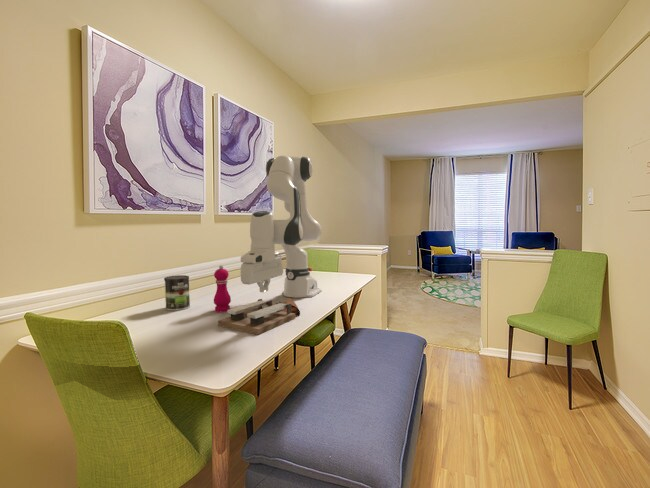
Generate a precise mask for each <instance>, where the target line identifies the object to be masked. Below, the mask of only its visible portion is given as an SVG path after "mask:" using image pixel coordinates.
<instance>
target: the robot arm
mask: <svg viewBox="0 0 650 488" xmlns="http://www.w3.org/2000/svg"><path fill="white" fill-rule="evenodd" d="M265 172H266V176H267V179H266V188H267V191H268V193H269V194H271V196H273V197H274V198H275V199H277V200H280V201H283V202H284V209H285V211H286V212H287V213H289V216H290V217H289V218H287V219H274V217H273V213H272V212H271V211H267V210H260V211H255V212H254V213H252V214H251V217H250V224H249V225H250V226H249V236H250V239H251V244H250V250H249V251H248V252H246V253H245V254H243V255H242V256H240V262H241V265H240V282H241V283H242V284H243V285H249V286H250V285H253V284H257V286H258V287H259V292H260V293H266V292H268V291H269V285H270V283H271V279H274V278H277V277H281V276H283V275H284V266H283V265H284V264H283V260H282V255H281V253H279V252H276V250H275V248H276V247H275V246H276V245H281V247H282V248H283V250H284V254H285V263H286V266H285V267H286V268H285V278H284V284H283V285H284V286H283V290H282V294H283V296H284V297H286V298H287V297H288V298H292V299H293V298H299V299H300V298H312V297H315V296H316V295H318V294H320V293H322V288H318V281H317V279H315V278H314V277H313V276H312V275H311V272H313V267H309V266H308V265H309V263H308V262H309V261H308V259H309V258H308V252H307V251H306V250H305V249H303V248H301V247H299V246H298V245H297V244H299V243H300V242H313V241H318V240H319V239H320V238H321V236H322V233H323V232H322V231H323V229H322V225H321V224H320V223H319V221H317V220H315V218H314V217H313V216H312V215H311V213H310V212H309V209H308V203H307V189H306V182H307V180H309V179H310V178H311V177H312V176H313V172H314V167H313V163H312V160H311V159H310V157H306V156H301V157H300V156H289V155H288V156H286V155H278V156H277V157H271V158H269V159H268V160H267V162H266V164H265Z"/></svg>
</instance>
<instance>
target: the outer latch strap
mask: <svg viewBox="0 0 650 488" xmlns="http://www.w3.org/2000/svg"><path fill="white" fill-rule="evenodd" d="M282 303H283V302H281V303H279V304H276V303H275V304H272V306H270V307H268V306H267V307H262V308H263V309H260V310H257V311H254V312H251V313H248V314H247V317H249V318H254V319H256V318H259V317H262V316H265V315H267V314H270V313H273V312H276V311H279V310H281V309H284V308H287V304H282Z"/></svg>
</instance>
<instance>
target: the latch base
mask: <svg viewBox="0 0 650 488" xmlns="http://www.w3.org/2000/svg"><path fill="white" fill-rule="evenodd" d="M260 300H263V298H259V299H257V301H260ZM266 301H267V303H268V304H267V307H270V306H273V300H271V299H270V300H266ZM279 303H282V302H281V301H277V302H275V305H276V304H279ZM263 308H264V307H263V306H261V307H258V308H255V309H252V310H249V311H246V312H242V313H239V314H236V315H234V314H230V316H228V317H225V318H221V319H218V320H217V324H218V325H217V326H218V327H223V328H225V329H232V330H235V331H239V332H240V331H241V332H245V333H250V334H254V335H258V336H259V335H261V334H263V333H266V332H268V331H270V330H273V329H274V328H277V327H279V326H281V325H284V324H285V323H288V322H291V321H293V320H295V319H296V316H295V313H292V312H291V303H289V304H287V312H284V311H281V310H279V311H276V312H273V313H270V314H267V315H265V316H262V317H259V318H256V319H254V318H249V317H247V314H248V313H251V312H254V311H257V310H260V309H263Z"/></svg>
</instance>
